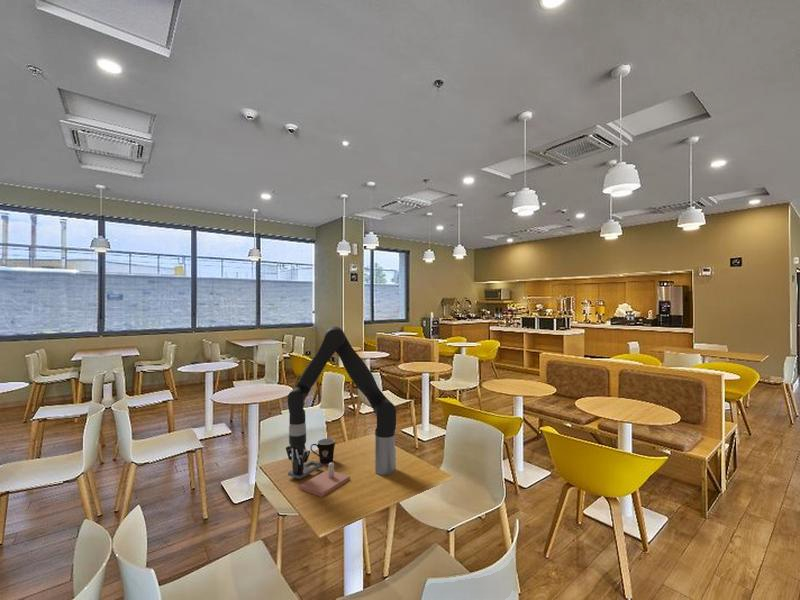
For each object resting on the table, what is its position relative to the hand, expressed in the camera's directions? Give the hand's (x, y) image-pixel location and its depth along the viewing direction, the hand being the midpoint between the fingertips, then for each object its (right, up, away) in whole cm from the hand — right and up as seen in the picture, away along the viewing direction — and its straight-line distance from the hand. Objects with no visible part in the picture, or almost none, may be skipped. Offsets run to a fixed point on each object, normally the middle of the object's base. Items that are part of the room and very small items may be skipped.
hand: (297, 470), depth 167 cm
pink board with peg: (+13, -3, -6) cm, 15 cm away
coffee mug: (+8, -4, +19) cm, 21 cm away
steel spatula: (+3, -2, +4) cm, 5 cm away
